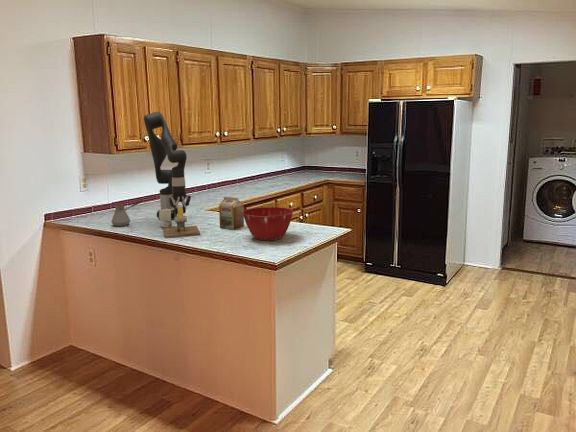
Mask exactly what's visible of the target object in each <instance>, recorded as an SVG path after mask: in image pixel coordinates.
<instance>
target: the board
mask: <svg viewBox="0 0 576 432" xmlns="http://www.w3.org/2000/svg"><path fill="white" fill-rule="evenodd" d="M162 232H163V236H164V239H172V238H185V237H198V236H201V231H200V229H199V228H198V226H197V225H188V226H187V225H186V222H185V223H176V226H174V227H173V226H171V227H163V228H162Z"/></svg>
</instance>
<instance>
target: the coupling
mask: <svg viewBox="0 0 576 432" xmlns="http://www.w3.org/2000/svg"><path fill="white" fill-rule="evenodd" d="M177 208H178V214H177V216H175V217H174V218H175V220H174V223H175V224H177V223H185V224H186V223H187V222H188V219H187V218H188V217H187V215H184V213H183V206H182V204H178V207H177Z"/></svg>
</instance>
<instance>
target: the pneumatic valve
mask: <svg viewBox="0 0 576 432" xmlns="http://www.w3.org/2000/svg"><path fill="white" fill-rule="evenodd" d="M175 216H178V214H175V212H174V209H167V208H166V209H161V208H160V209H158V210H157V212H156V218H158V221H163V222H162V226H163V228H172V227H173V222H172V221H175V220H174V219H175V218H174V217H175Z"/></svg>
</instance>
